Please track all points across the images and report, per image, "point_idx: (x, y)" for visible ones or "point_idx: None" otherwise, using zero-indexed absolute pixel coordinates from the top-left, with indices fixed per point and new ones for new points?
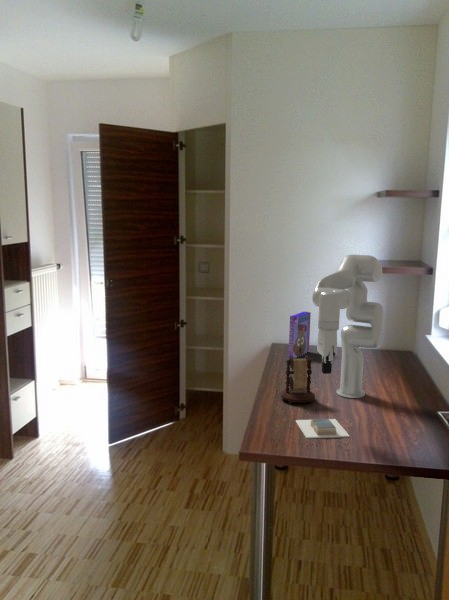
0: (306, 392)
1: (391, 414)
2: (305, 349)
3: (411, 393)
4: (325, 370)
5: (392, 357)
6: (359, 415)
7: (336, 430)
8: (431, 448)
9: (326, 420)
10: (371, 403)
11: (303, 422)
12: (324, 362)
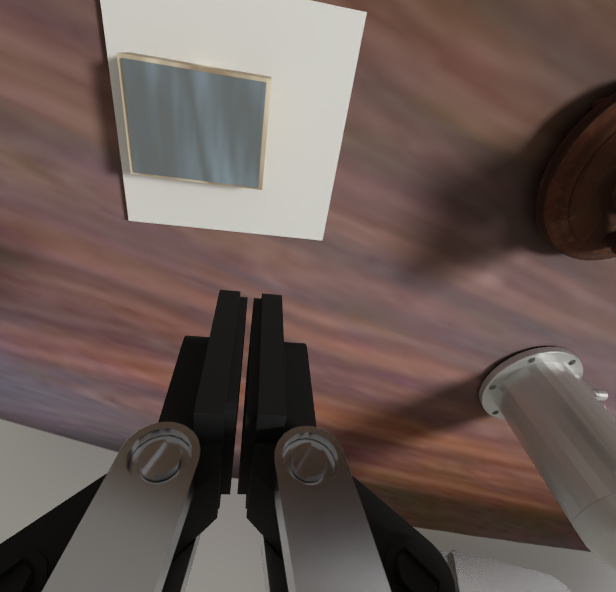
0: (610, 225)
1: (321, 416)
2: None
3: (439, 494)
4: (195, 341)
5: None
6: (341, 337)
7: (191, 188)
8: (51, 412)
9: (235, 166)
10: (422, 402)
11: (319, 51)
12: (185, 444)
